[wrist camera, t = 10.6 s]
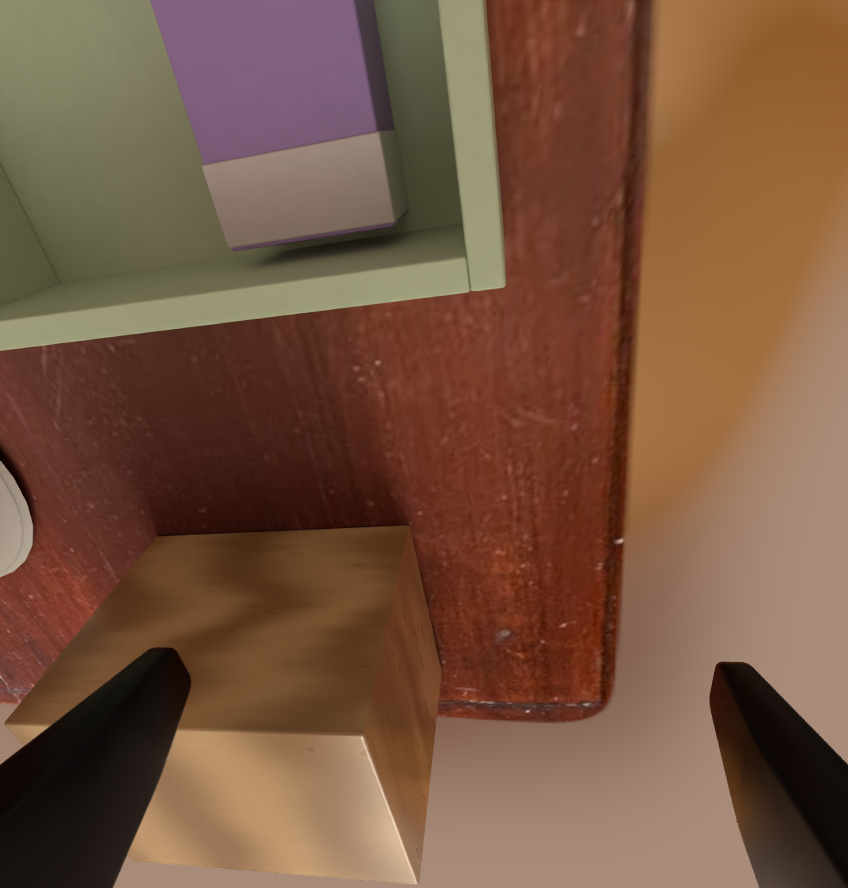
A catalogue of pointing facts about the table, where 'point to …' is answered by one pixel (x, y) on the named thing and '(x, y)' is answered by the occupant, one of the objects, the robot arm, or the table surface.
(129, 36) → the tray
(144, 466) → the table surface
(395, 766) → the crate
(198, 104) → the chocolate bar
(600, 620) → the table surface
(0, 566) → the chalice
